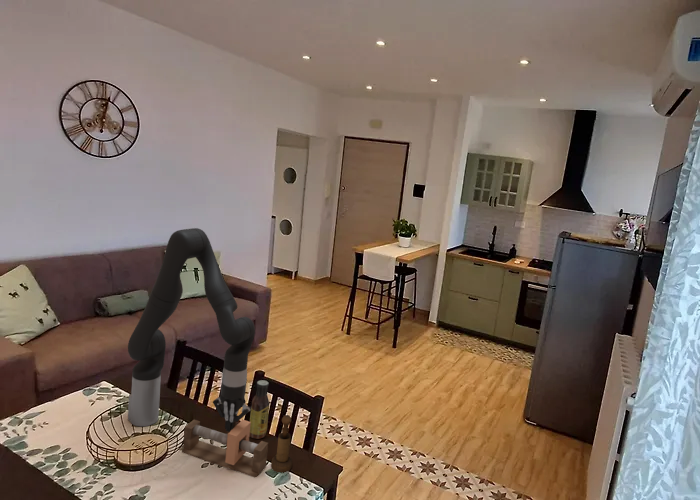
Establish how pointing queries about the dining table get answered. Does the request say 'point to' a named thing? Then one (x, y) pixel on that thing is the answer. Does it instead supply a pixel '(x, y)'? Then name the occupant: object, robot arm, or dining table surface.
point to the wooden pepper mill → (283, 449)
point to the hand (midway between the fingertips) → (229, 430)
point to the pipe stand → (219, 454)
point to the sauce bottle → (259, 411)
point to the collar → (237, 441)
